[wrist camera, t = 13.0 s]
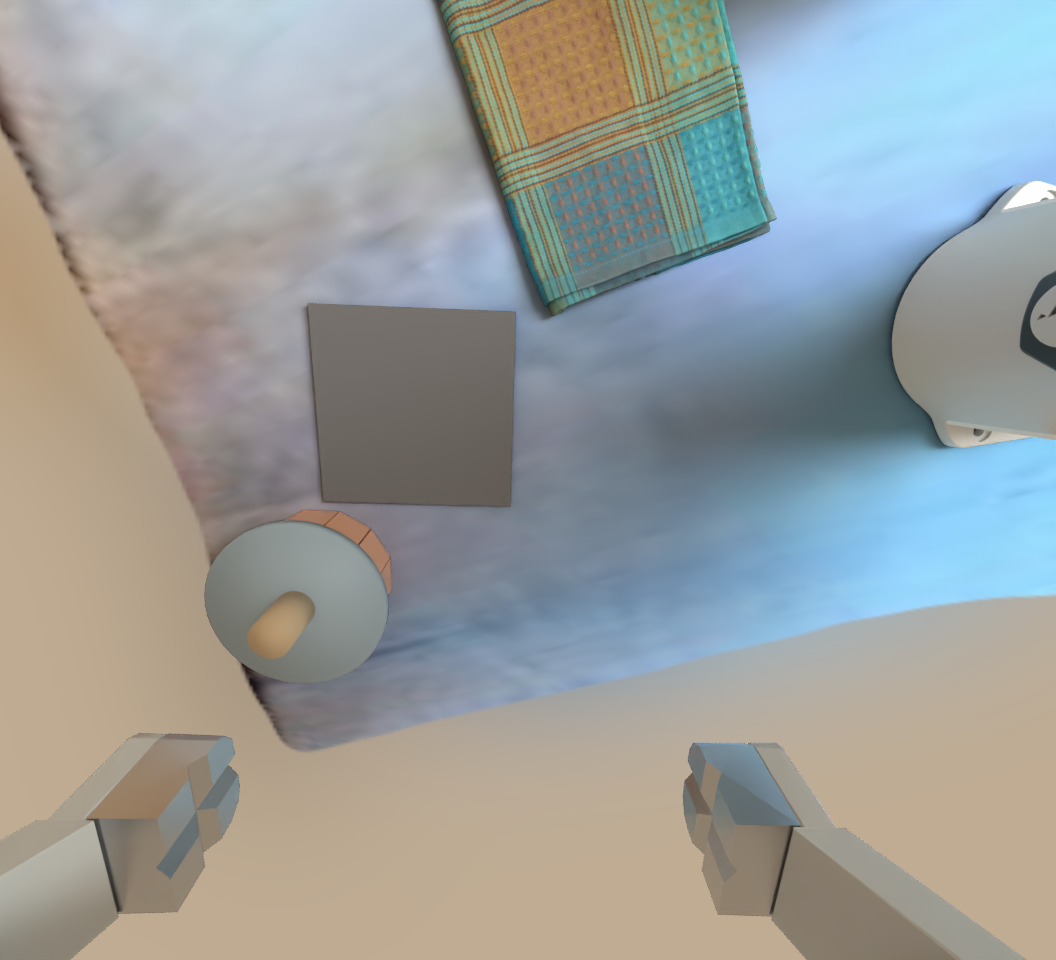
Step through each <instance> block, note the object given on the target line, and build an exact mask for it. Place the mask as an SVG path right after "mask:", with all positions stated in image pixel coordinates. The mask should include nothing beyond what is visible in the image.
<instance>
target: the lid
mask: <svg viewBox="0 0 1056 960" xmlns="http://www.w3.org/2000/svg"><path fill="white" fill-rule="evenodd" d="M205 607H206V611H207V616H208V618H209V621H210V624H211V626H212V628H213V630H214V632H215V634H216V635H217V637H218V639H219V640H220V641H221V643H222V644H223V646H224V647H225V648H226V649H227V650H228V651H229V652H230V653H231V654H232V655H233V656H234V657H235V658H236V659H238V660H239V661H240V662H241V663H243V664H244V665H246V666H247V667H249V668H250V669H252V670H254V671H256V672H258V673H260V674H262V675H265V676H267V677H269V678H273V679H276V680H279V681H284V682H290V683H299V684H312V683H320V682H326V681H330V680H334V679H337V678H339V677H342V676H344V675H346V674H348V673H350V672H352V671H353V670H355V669H356V668H358V667H359V666H360V665H361V664H363V663H364V662H365V661H366V660H367V659H368V658H369V657H370V655H371V654H372V653H373V651H374V650H375V648H376V647H377V645H378V643H379V641H380V639H381V637H382V635H383V632H384V630H385V627H386V624H387V619H388V614H389V600H388V593H387V589H386V585H385V582H384V579H383V577H382V575H381V573H380V571H379V569H378V567H377V566H376V564H375V563H374V561H373V560H372V559H371V557H370V556H369V555H368V554H367V553H366V552H365V551H364V550H363V549H362V548H361V547H360V546H359V545H358V544H357V543H355V542H354V541H353V540H352V539H350V538H349V537H347V536H345V535H344V534H342V533H340V532H338V531H336V530H334V529H332V528H330V527H327V526H324V525H321V524H318V523H313V522H308V521H301V520H281V521H274V522H269V523H266V524H262V525H259V526H257V527H255V528H252V529H250V530H248V531H247V532H245V533H244V534H242V535H240V536H239V537H237V538H236V539H235V540H233V541H232V542H231V543H229V544H228V545H227V546H226V547H225V548H224V549H223V550H222V551H221V552H220V553H219V555H218V556H217V557H216V559H215V560H214V562H213V564H212V565H211V568H210V570H209V573H208V575H207V579H206V584H205Z"/></svg>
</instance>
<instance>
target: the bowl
mask: <svg viewBox="0 0 1056 960" xmlns="http://www.w3.org/2000/svg"><path fill="white" fill-rule="evenodd" d="M285 520H301V521H308V522H313V523H318V524H321V525H324V526H327V527H330V528H332V529H334V530H336V531H338V532H340V533H342V534H344V535H345V536H347V537H349V538H350V539H352V540H353V541H354V542H355V543H357V544H358V545H359V546H360V547H361V548H362V549H363V550H364V551H365V552H366V553H367V554H368V555H369V556H370V557H371V559H372V560H373V561H374V563H375V564H376V566H377V567H378V569H379V571H380V573H381V575H382V577H383V579H384V582H385V585H386V589H387V593H388V595H389V593H390V591H391V589H392V582H391V558H390V556H389V554H388V553H387V551H386V550H385V548H384V547H383V545H382V544H381V542H380V541H379V539H378V538H377V536H376V535H375V533H374V532H373V530H370V528H369V527H367V526H366V525H364V524H362V523H360V522H358V521H356V520H355V519H353V518H351V517H349V516H347V515H345V514H344V513H342V512H339V513H338V511H321V510H303V511H300V512H298V513H296V514H294V515H293V516H291V517H289V518H287V519H285ZM369 530H370V531H369Z"/></svg>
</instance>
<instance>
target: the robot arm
mask: <svg viewBox="0 0 1056 960" xmlns="http://www.w3.org/2000/svg"><path fill="white" fill-rule="evenodd" d="M892 355H893V362H894V366H895V370H896V373H897V376H898V378H899V380H900V382H901V384H902V386H903V388H904V389H905V391H906V392H907V393H908V395H909V396H910V397H911V398H912V399H913V400H914V401H915V402H916V403H917V404H918V405H920V406H921V407H922V408H923V409H924V410H925V411H926V412H927V413H928V414H929V415H930V416H931V418H932V420H933V423H934V426H935V429H936V431H937V434H938V436H939V438H940V440H941V441H942V442H943V443H944V444H945V445H946V446H949V447H958V448H967V447H973V446H979V445H986V444H992V443H998V442H1005V441H1011V440H1017V439H1024V438H1030V437H1037V438H1044V439H1052V440H1056V186H1055V185H1051V184H1048V183H1045V182H1041V181H1030V182H1026V183H1021V184H1017V185H1015V186H1013V187H1012V188H1011V189H1009V190H1008V191H1007V192H1006V193H1005V194H1004V195H1003V196H1002V197H1001V198H1000V199H999V200H998V201H997V202H996V204H995V205H994V206H993V207H992V208H991V209H990V211H989V212H988V213H987V214H986V215H985V217H984V218H982V219H981V220H980V221H979V222H977V223H976V224H974V225H973V226H971V227H969V228H968V229H966V230H964V231H962V232H961V233H959V234H957V235H956V236H954V237H953V238H951V239H950V240H948V241H947V242H946V243H944V244H943V245H942V246H941V247H940V248H938V249H937V250H936V251H935V252H934V253H933V254H932V255H931V256H930V257H929V258H928V259H927V260H926V261H925V262H924V264H923V265H922V266H921V267H920V269H919V270H918V271H917V273H916V274H915V275H914V277H913V278H912V280H911V282H910V283H909V285H908V287H907V289H906V291H905V293H904V295H903V297H902V299H901V302H900V304H899V307H898V310H897V313H896V317H895V321H894V326H893V333H892ZM975 428H976V430H975V432H974V433H973V431H974V429H975ZM234 755H235V751H234V746H233V741H232V738H229V737H226V736H212V735H189V734H188V735H187V734H150V733H139V734H137V735H134V736H132V737H130V738H128V739H127V740H126V741H125V742H124V743H123V744H122V745H121V746H120V747H119V748H118V749H117V750H116V751H115V752H114V754H112V755H111V756H110V757H109V759H107V760H106V761H105V763H103V764H102V765H101V766H100V767H99V768H98V769H97V770H96V772H94V773H93V774H92V775H91V777H89V779H87V780H86V781H85V782H84V783H83V784H82V786H80V787H79V788H78V790H77V791H75V793H74V794H73V795H72V796H71V797H70V798H69V799H68V800H67V801H66V802H65V803H64V804H63V805H62V806H61V807H60V808H59V809H58V810H57V811H56V812H55V813H54V814H53V815H52V816H51V817H50V818H49V819H48V820H36V821H34V822H32V823H30V824H29V825H27V826H25V827H23V828H21V829H20V830H18V831H16V832H14V833H13V834H11V835H9V836H7V837H6V838H3V839H1V840H0V960H70V959H71V958H73V957H74V956H75V955H76V954H77V953H78V952H80V951H81V950H82V949H83V948H84V947H85V946H86V945H87V944H88V943H90V942H91V941H92V940H93V939H94V938H95V937H97V936H98V935H99V934H100V933H101V932H102V931H104V930H105V929H106V928H107V927H108V926H109V925H110V924H112V923H113V922H114V921H115V920H116V919H117V918H118V914H128V913H129V914H130V913H163V912H164V913H165V912H177V911H178V910H179V909H180V907H181V905H182V904H183V902H184V900H185V899H186V897H187V895H188V894H189V892H190V890H191V888H192V887H193V885H194V884H195V882H196V880H197V879H198V877H199V875H200V874H201V872H202V871H203V869H204V867H205V862H204V851H206V850H207V849H209V848H210V847H211V846H212V845H214V844H215V843H216V842H218V841H219V840H220V839H222V837H223V835H224V834H225V832H226V830H227V828H228V827H229V825H230V823H231V821H232V819H233V816H234V813H235V810H236V807H237V804H238V799H239V788H240V784H239V777H238V774H237V773H236V772H235V771H234V770H233V769H232V768H231V767H230V766H229V765H228V764H229V762H230V761H231V759H232V758H233V756H234ZM688 762H689V765H690V767H691V770H692V772H693V773H692V774H691V775H690V776H689V777H688V778H687V779H686V780H685V782H684V791H683V805H684V815H685V820H686V824H687V828H688V831H689V834H690V837H691V840H692V843H693V844H694V845H695V846H696V847H697V848H698V849H699V850H700V851H701V852H702V853H703V854H704V855H705V856H704V861H703V868H702V872H703V874H704V877H705V880H706V883H707V886H708V888H709V891H710V894H711V897H712V899H713V902H714V905H715V908H716V911H717V913H718V915H744V916H771V917H772V921H773V922H774V923H775V924H776V925H777V926H778V928H779V929H780V930H781V931H782V932H783V933H784V935H785V936H786V937H787V938H788V939H789V940H790V941H791V943H792V944H793V945H794V946H795V947H796V948H797V949H798V950H799V952H800V953H801V954H802V955H803V956H804V957H805V958H806V959H807V960H1027V959H1025V958H1024V957H1023V956H1021V955H1020V954H1018V953H1017V952H1016V951H1014V950H1013V949H1011V948H1010V947H1009V946H1007V945H1006V944H1005V943H1003V942H1002V941H1000V940H999V939H998V938H996V937H995V936H994V935H992V934H991V933H989V932H988V931H987V930H985V929H984V928H983V927H981V926H980V925H978V924H977V923H975V922H974V921H973V920H972V919H970V918H969V917H967V916H966V915H965V914H963V913H962V912H960V911H959V910H958V909H956V908H955V907H954V906H952V905H951V904H949V903H948V902H946V901H945V900H944V899H943V898H941V897H940V896H938V895H937V894H936V893H934V892H933V891H931V890H930V889H929V888H927V887H926V886H925V885H923V884H922V883H920V882H919V881H918V880H916V879H915V878H913V877H912V876H911V875H909V874H908V873H907V872H905V871H904V870H903V869H901V868H900V867H898V866H897V865H896V864H894V863H893V862H891V861H890V860H889V859H887V858H886V857H885V856H883V855H882V854H881V853H879V852H878V851H876V850H875V849H874V848H872V847H871V846H870V845H868V844H867V843H865V842H864V841H863V840H861V839H860V838H858V837H857V836H856V835H854V834H853V833H852V832H850V831H849V830H847V829H846V828H836V827H835V825H834V824H833V822H832V821H831V819H830V818H829V816H828V815H827V813H826V812H825V810H824V809H823V807H822V806H821V804H820V803H819V801H818V800H817V798H816V797H815V795H814V794H813V792H812V791H811V789H810V788H809V786H808V785H807V783H806V782H805V780H804V779H803V777H802V776H801V774H800V773H799V771H798V770H797V768H796V767H795V765H794V764H793V762H792V761H791V759H790V758H789V756H788V755H787V753H786V752H785V750H784V749H783V748H782V747H781V746H780V745H779V744H777V743H748V744H747V743H693V744H692V746H691V748H690V750H689V756H688Z"/></svg>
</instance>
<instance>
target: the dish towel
mask: <svg viewBox="0 0 1056 960" xmlns="http://www.w3.org/2000/svg"><path fill="white" fill-rule="evenodd" d="M438 4H439V7H440V10H441V13H442V16H443V18H444V21H445V24H446V27H447V30H448V33H449V36H450V39H451V42H452V45H453V48H454V51H455V53H456V57H457V60H458V62H459V64H460V67H461V70H462V74H463V76H464V79H465V81H466V84H467V88H468V92H469V94H470V96H471V100H472V104H473V108H474V110H475V112H476V115H477V118H478V123H479V125H480V127H481V129H482V131H483V135H484V138H485V140H486V143H487V145H488V149H489V153H490V156H491V158H492V161H493V165H494V168H495V171H496V174H497V177H498V180H499V183H500V187H501V190H502V193H503V196H504V199H505V201H506V204H507V208H508V211H509V214H510V217H511V221H512V225H513V227H514V229H515V231H516V234H517V238H518V240H519V242H520V244H521V247H522V252H523V254H524V255H525V259H526V263H527V266H528V268H529V270H530V272H531V276H532V278H533V280H534V282H535V283H536V285H537V288H538V290H539V293H540V296H541V299H542V301H543V304H544V306H549V308H550V310H551V312H552V314H553V315H558V314H560V313H562V312H563V309H564V308H566V307H568V306H570V305H572V304H575V303H577V302H580V301H582V300H585V299H588V298H591V297H593V296H596V295H598V294H601V293H603V292H606V291H609V290H611V289H614V288H616V287H619V286H621V285H624V284H627V283H630V282H632V281H637V280H639V279H641V278H642V277H648V276H651V275H656V274H659V273H661V272H663V271H666V270H668V269H670V268H673V267H675V266H679V265H683V264H686V263H689V262H691V261H694V260H697V259H699V258H702V257H705V256H708V255H711V254H714V253H717V252H720V251H723V250H726V249H729V248H731V247H734V246H736V245H738V244H741V243H744V242H746V241H749V240H751V239H753V238H755V237H757V236H759V235H761V234H764V233H767V232H769V231H770V225H769V222H771V221H773V220H775V219H777V218H776V215H775V213H774V211H773V208H772V206H771V204H770V202H769V200H768V198H767V194H766V191H765V188H764V184H763V179H762V176H761V170H760V161H759V159H758V156H757V147H756V145H755V141H754V133H753V129H752V126H751V120H750V114H749V110H748V104H747V99H746V95H745V90H744V86H743V81H742V77H741V72H740V68H739V65H738V61H737V56H736V51H735V48H734V44H733V38H732V34H731V31H730V27H729V23H728V18H727V15H726V11H725V6H724V1H723V0H438Z"/></svg>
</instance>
